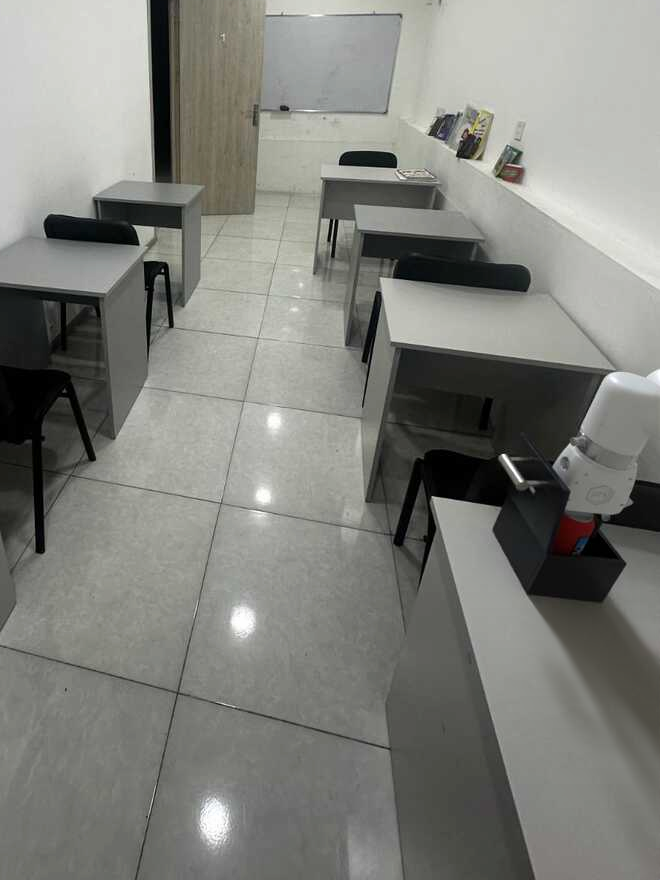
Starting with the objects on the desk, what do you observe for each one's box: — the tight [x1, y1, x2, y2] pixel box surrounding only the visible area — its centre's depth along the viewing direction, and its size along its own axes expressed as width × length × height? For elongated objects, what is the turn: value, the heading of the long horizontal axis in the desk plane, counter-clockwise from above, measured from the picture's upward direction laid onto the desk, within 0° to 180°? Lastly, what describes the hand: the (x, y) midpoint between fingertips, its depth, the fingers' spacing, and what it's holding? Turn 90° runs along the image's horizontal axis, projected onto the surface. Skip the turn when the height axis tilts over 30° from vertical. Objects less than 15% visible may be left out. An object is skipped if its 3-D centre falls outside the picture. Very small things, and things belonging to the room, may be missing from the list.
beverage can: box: [552, 510, 595, 555], centre depth 82 cm, size 7×7×12 cm
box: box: [491, 492, 627, 604], centre depth 83 cm, size 12×12×10 cm
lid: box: [497, 432, 571, 553], centre depth 79 cm, size 13×12×6 cm
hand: (563, 527), depth 82 cm, fingers closed on beverage can, 6 cm apart
